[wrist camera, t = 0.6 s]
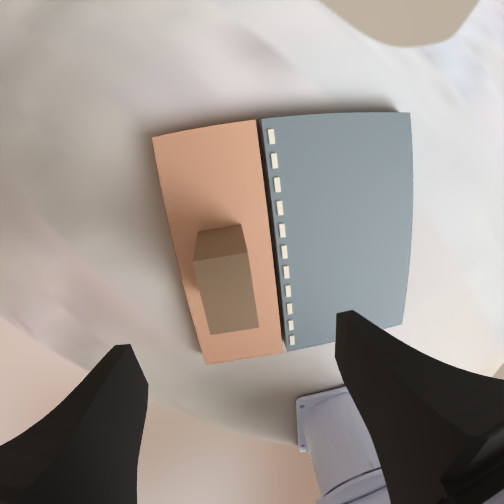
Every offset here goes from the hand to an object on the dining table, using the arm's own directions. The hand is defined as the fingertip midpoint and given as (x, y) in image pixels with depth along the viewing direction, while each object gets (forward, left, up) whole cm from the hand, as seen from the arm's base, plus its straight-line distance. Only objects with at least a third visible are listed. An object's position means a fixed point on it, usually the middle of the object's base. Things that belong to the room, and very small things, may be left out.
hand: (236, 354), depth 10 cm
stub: (0, 0, -9) cm, 9 cm away
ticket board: (0, -7, -9) cm, 12 cm away
